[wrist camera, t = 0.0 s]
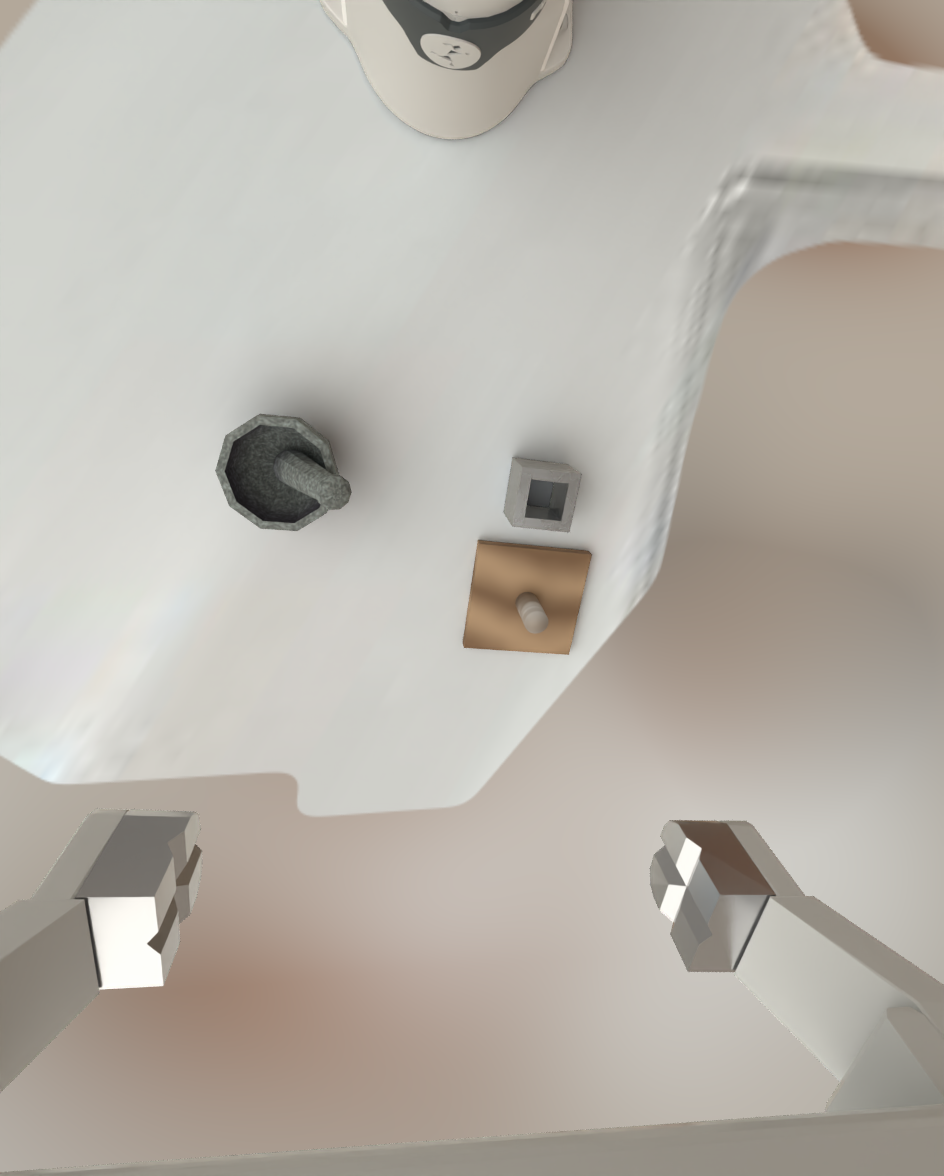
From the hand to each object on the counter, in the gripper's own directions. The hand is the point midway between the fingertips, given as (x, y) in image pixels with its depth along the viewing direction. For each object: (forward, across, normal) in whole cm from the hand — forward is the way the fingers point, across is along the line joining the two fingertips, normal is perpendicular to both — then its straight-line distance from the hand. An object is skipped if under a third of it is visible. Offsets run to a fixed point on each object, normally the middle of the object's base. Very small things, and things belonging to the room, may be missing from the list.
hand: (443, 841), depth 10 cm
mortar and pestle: (+48, +10, +3) cm, 49 cm away
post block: (+48, -14, +15) cm, 52 cm away
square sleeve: (+48, -13, +3) cm, 50 cm away
